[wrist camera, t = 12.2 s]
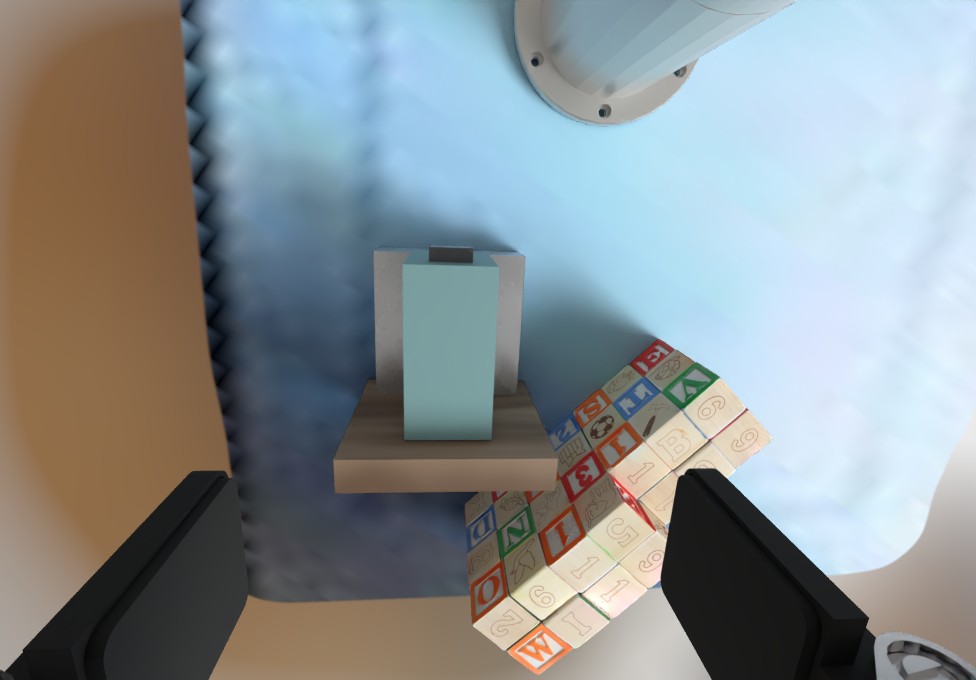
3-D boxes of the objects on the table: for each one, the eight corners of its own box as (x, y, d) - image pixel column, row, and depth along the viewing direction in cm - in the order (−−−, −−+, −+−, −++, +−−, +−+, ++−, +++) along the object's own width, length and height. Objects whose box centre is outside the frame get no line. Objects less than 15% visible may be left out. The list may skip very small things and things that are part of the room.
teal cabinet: (411, 238, 31) (402, 248, 24) (488, 241, 31) (499, 251, 25) (412, 393, 34) (404, 440, 27) (482, 393, 34) (491, 439, 28)
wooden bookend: (365, 246, 34) (323, 268, 22) (532, 252, 35) (575, 276, 23) (369, 403, 37) (334, 493, 25) (521, 403, 38) (555, 490, 27)
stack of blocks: (657, 334, 38) (754, 394, 26) (702, 386, 39) (812, 465, 27) (462, 504, 40) (469, 629, 29) (511, 547, 42) (537, 681, 30)
